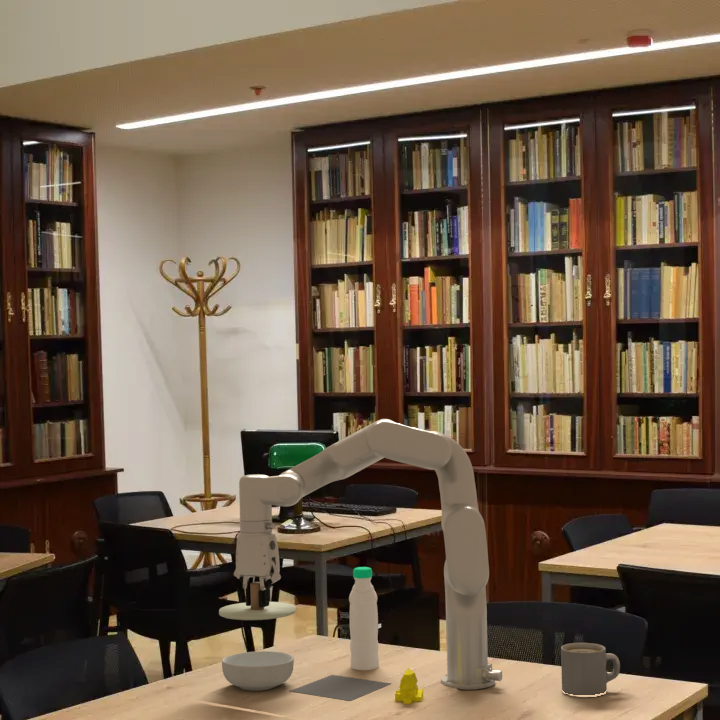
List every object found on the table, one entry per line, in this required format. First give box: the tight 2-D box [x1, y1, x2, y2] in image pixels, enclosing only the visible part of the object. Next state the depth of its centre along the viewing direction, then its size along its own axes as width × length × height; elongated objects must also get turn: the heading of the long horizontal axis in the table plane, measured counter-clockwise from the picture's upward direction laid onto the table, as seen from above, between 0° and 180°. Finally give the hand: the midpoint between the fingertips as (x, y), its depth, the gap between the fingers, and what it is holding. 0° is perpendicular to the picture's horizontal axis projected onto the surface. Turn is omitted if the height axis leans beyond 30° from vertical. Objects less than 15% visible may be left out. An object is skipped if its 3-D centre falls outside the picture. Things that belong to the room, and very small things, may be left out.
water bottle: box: [348, 566, 380, 671], centre depth 292 cm, size 7×7×25 cm
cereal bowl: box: [221, 650, 295, 692], centre depth 277 cm, size 17×17×7 cm
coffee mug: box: [560, 642, 621, 695], centre depth 266 cm, size 13×10×10 cm
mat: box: [289, 674, 392, 702], centre depth 273 cm, size 17×17×1 cm
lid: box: [218, 581, 297, 621], centre depth 277 cm, size 18×18×7 cm
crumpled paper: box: [394, 668, 424, 705], centre depth 262 cm, size 6×8×8 cm
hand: (257, 605), depth 277 cm, fingers closed on lid, 3 cm apart
